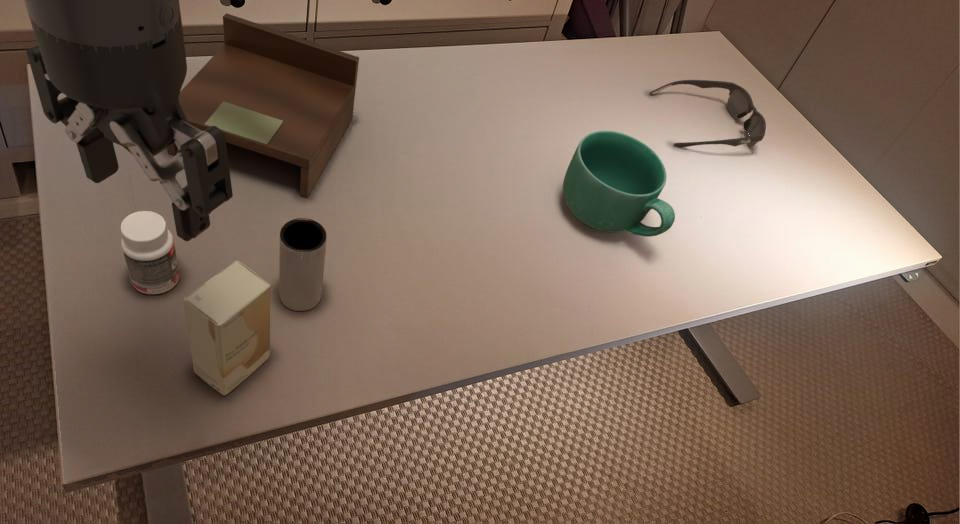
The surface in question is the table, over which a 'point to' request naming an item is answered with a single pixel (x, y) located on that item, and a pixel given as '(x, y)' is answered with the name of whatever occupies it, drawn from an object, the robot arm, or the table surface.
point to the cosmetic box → (229, 326)
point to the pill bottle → (149, 252)
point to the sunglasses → (737, 107)
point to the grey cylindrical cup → (301, 263)
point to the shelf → (274, 96)
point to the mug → (616, 184)
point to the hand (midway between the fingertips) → (148, 204)
